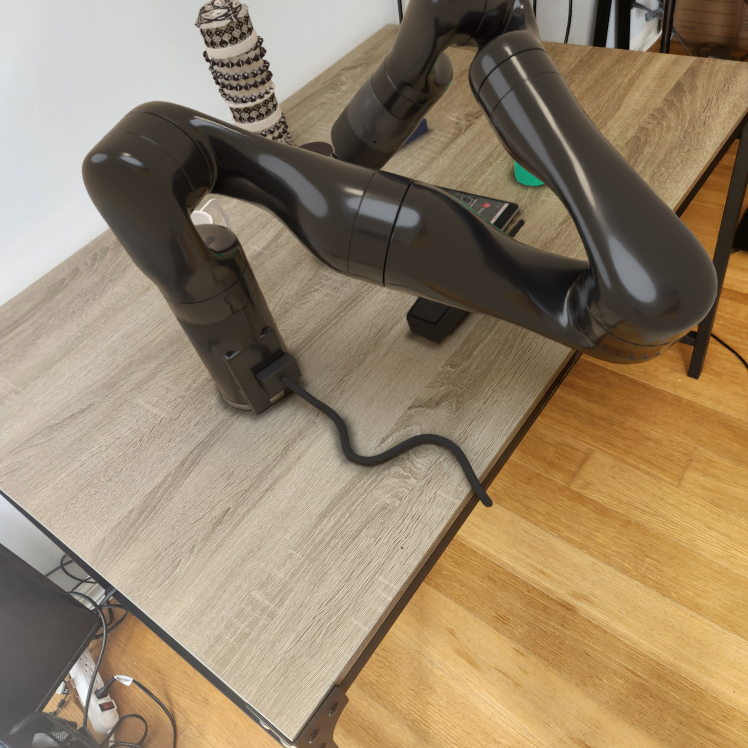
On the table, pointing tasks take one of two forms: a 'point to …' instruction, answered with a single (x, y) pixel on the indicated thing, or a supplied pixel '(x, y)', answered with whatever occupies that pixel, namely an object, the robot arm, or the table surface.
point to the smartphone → (487, 207)
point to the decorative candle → (241, 68)
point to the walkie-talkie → (439, 312)
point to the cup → (205, 218)
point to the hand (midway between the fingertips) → (313, 202)
